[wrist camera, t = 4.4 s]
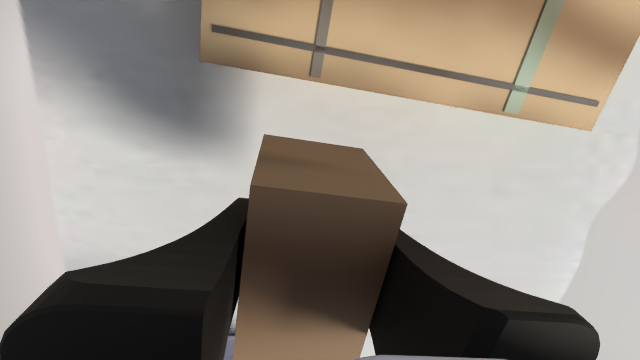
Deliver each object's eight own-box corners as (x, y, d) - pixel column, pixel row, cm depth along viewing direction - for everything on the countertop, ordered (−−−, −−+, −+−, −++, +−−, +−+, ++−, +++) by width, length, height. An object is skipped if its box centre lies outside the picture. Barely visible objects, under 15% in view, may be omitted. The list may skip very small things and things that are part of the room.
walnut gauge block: (334, 268, 15) (356, 366, 10) (249, 261, 14) (232, 362, 9) (362, 148, 13) (407, 203, 8) (264, 134, 12) (250, 185, 7)
